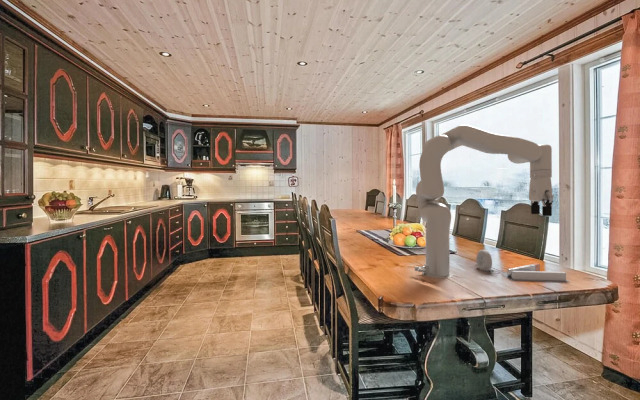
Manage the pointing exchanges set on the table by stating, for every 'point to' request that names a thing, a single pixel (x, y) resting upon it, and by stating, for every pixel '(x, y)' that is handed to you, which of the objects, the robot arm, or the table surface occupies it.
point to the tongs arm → (524, 269)
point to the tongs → (537, 276)
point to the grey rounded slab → (484, 260)
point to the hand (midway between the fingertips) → (541, 214)
